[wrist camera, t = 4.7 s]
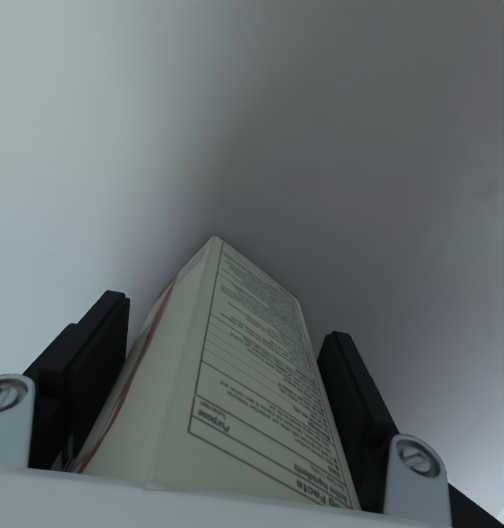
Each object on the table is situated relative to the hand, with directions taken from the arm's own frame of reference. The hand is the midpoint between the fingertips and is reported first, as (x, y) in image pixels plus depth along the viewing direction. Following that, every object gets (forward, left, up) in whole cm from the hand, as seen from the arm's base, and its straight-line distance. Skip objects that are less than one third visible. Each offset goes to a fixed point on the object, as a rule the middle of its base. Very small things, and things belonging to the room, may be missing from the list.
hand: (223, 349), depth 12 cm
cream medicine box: (0, 0, -3) cm, 3 cm away
